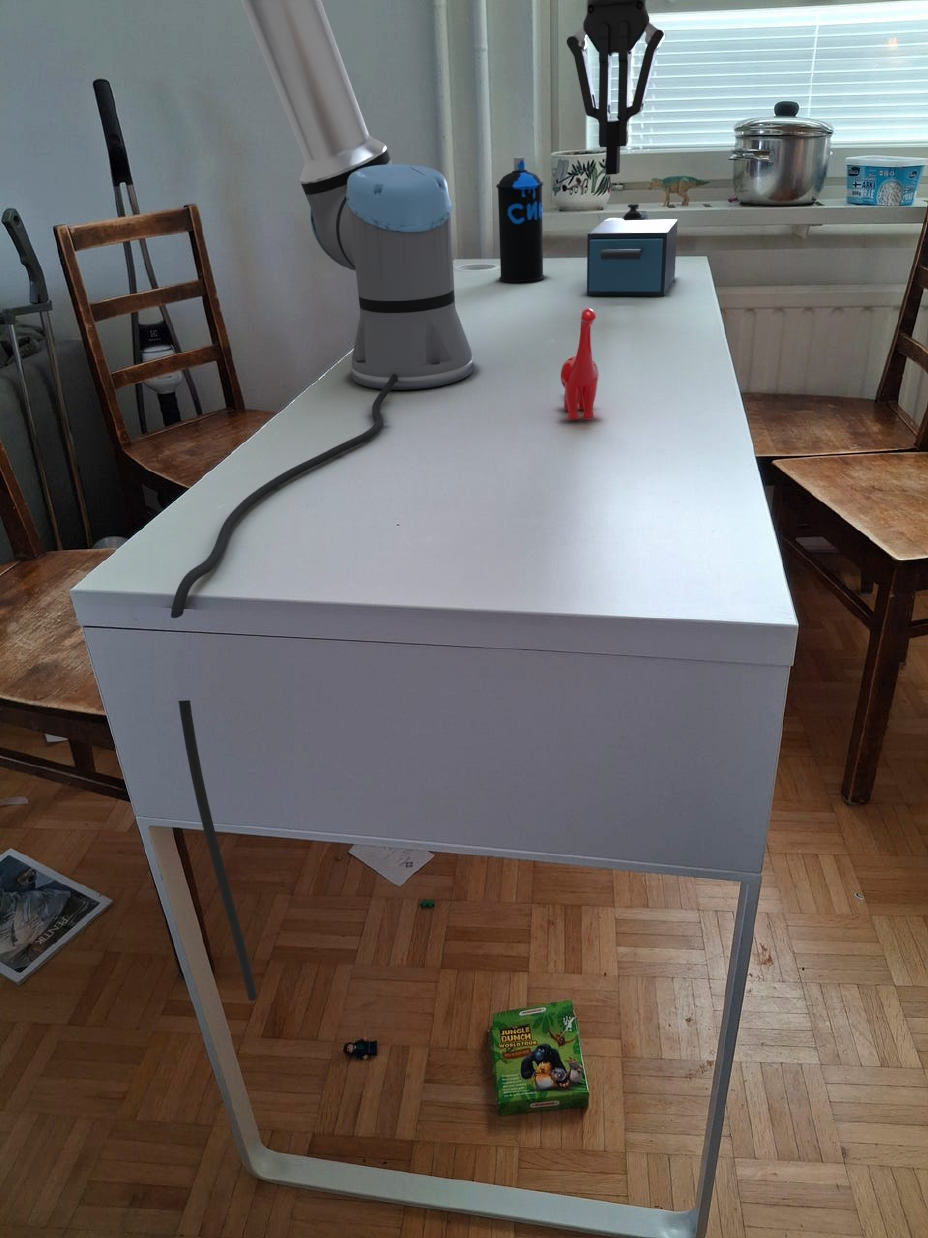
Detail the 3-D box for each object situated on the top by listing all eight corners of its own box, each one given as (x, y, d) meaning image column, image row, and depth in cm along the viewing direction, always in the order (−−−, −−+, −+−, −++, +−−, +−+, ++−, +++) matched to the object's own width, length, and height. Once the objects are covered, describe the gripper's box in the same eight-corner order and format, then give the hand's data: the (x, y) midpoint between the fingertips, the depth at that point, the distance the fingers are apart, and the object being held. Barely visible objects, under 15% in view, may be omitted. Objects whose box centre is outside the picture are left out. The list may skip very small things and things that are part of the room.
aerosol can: (491, 278, 172) (487, 157, 162) (531, 273, 174) (529, 154, 165) (512, 285, 165) (509, 159, 155) (552, 279, 168) (552, 155, 158)
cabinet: (664, 295, 150) (667, 231, 145) (586, 295, 154) (587, 233, 149) (674, 278, 162) (677, 219, 157) (602, 278, 166) (603, 220, 161)
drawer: (655, 297, 145) (658, 244, 141) (583, 297, 148) (583, 245, 144) (669, 275, 160) (672, 226, 156) (603, 275, 163) (604, 227, 159)
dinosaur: (587, 394, 106) (589, 280, 100) (608, 438, 93) (610, 310, 87) (553, 396, 106) (552, 283, 100) (568, 440, 93) (568, 312, 87)
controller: (618, 262, 179) (620, 206, 174) (626, 252, 189) (628, 198, 184) (641, 262, 178) (643, 205, 173) (647, 251, 188) (650, 197, 183)
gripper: (672, -34, 120) (663, 169, 132) (572, -25, 124) (572, 172, 135) (665, -39, 114) (656, 174, 125) (560, -29, 117) (561, 177, 129)
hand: (612, 173), depth 130 cm, fingers closed
